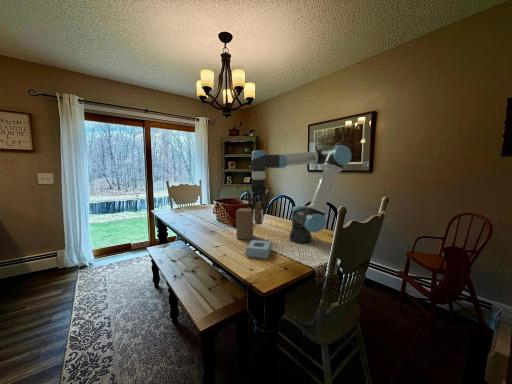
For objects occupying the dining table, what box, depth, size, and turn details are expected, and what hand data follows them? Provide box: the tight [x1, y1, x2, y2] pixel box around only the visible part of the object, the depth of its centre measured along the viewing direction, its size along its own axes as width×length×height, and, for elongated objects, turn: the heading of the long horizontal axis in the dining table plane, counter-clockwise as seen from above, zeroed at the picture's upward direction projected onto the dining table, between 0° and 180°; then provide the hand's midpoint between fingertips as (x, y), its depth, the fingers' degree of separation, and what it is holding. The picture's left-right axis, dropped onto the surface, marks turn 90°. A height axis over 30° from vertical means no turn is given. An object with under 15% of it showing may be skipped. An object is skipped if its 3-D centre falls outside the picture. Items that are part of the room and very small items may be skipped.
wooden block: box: [235, 207, 254, 241], centre depth 143 cm, size 10×10×20 cm
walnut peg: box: [254, 201, 263, 225], centre depth 115 cm, size 4×4×12 cm
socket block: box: [245, 239, 272, 259], centre depth 118 cm, size 12×12×5 cm
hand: (258, 220), depth 116 cm, fingers closed on walnut peg, 4 cm apart
